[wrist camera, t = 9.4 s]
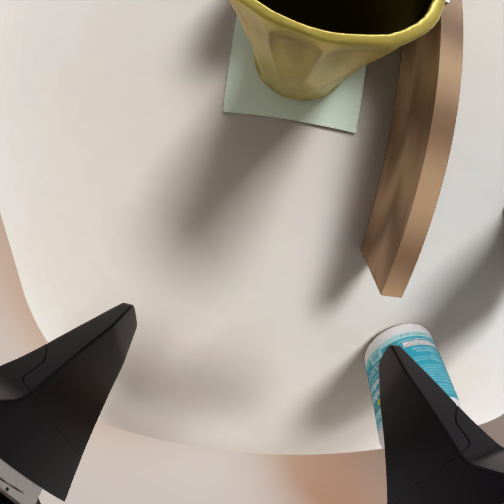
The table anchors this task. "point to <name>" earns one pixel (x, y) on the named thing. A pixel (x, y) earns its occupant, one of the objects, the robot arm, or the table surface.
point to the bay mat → (274, 105)
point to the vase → (327, 38)
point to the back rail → (416, 151)
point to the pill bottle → (419, 348)
